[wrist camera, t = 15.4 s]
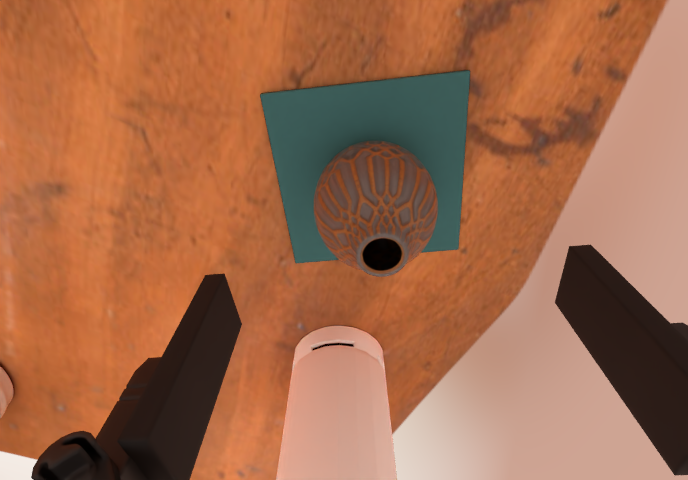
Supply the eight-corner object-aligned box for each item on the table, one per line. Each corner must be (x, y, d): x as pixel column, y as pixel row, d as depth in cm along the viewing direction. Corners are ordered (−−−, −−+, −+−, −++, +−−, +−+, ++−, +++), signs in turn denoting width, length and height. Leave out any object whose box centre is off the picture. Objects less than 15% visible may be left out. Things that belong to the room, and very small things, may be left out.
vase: (401, 107, 22) (431, 158, 14) (438, 203, 25) (477, 284, 18) (298, 156, 23) (277, 225, 16) (345, 240, 27) (346, 330, 19)
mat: (468, 69, 21) (470, 70, 21) (457, 246, 27) (458, 249, 27) (261, 93, 22) (259, 94, 22) (296, 260, 28) (295, 263, 28)
